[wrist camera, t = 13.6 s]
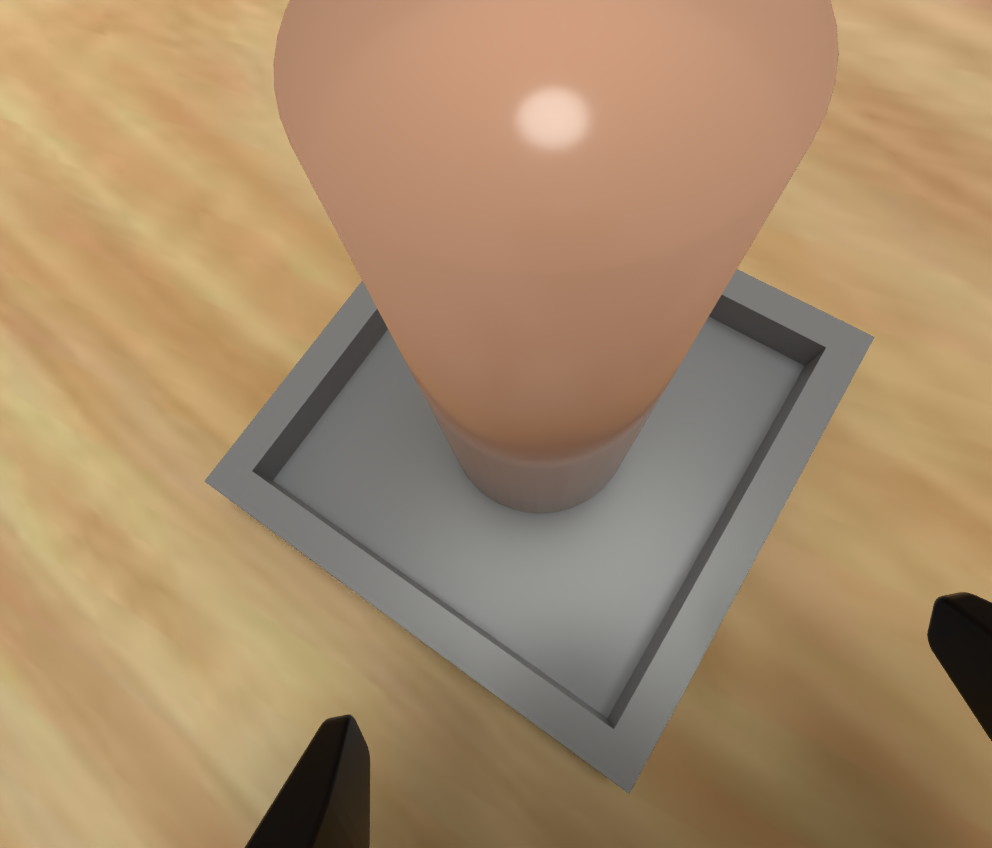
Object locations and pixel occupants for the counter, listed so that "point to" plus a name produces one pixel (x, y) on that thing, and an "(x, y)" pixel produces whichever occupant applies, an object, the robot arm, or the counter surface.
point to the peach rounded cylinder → (549, 198)
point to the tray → (552, 514)
